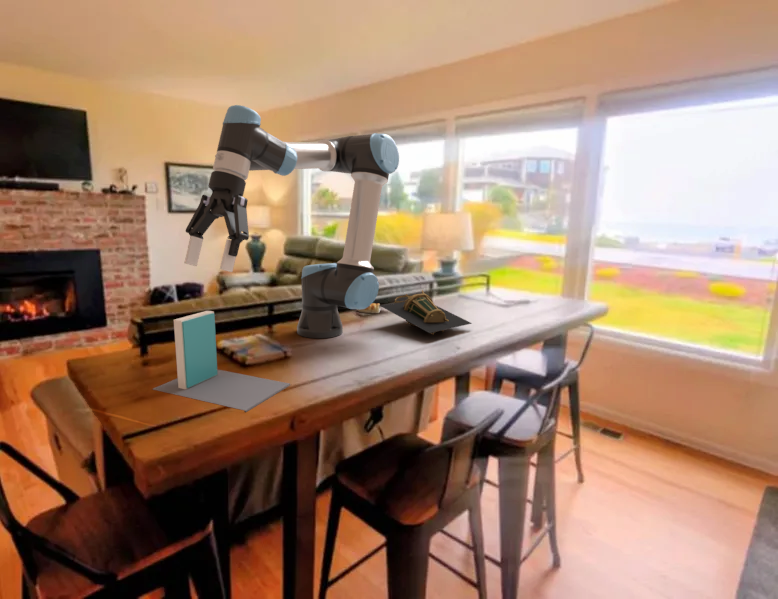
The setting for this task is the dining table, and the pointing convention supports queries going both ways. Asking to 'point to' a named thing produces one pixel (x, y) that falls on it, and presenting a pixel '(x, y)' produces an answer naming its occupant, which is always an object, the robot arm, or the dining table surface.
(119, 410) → the dining table surface
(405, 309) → the lantern
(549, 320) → the dining table surface
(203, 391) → the mat
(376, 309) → the pastry
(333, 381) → the dining table surface
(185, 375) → the tile
